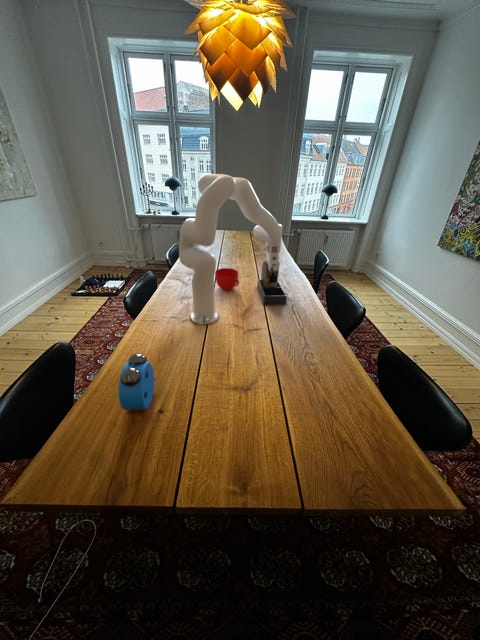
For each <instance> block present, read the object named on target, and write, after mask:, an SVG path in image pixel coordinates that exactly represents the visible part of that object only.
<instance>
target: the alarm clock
mask: <svg viewBox="0 0 480 640" xmlns="http://www.w3.org/2000/svg"><path fill="white" fill-rule="evenodd" d="M119 375H120V376H119V381H118V401H119V404H120V406H121V408H122V409H123V410H124V411H130V413H131V412H133V411H140V410H142V411H143V410H148V409H149V407H150V406H151V404H152V401H153V397H154V390H155V372H154V367H153V364H152V363H151V362H150V361H148V357H147V356H146V355H145V354H143V353H139V352H137V353H134V354H131V355H130V356H129V358H128V361H127V363H125V364H124V366H123V367H122V370H121V372H120V374H119Z"/></svg>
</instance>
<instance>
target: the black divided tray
mask: <svg viewBox="0 0 480 640" xmlns="http://www.w3.org/2000/svg"><path fill="white" fill-rule="evenodd" d="M256 288H257V290H258V293H259V296H260V299H261V302H262V304H263V306H285V305H287V300H288V295H287V294H286V292H285V290H284V289H283V286H282V285H281V283H280V281H279V280H278V284H277V287H262V286H261V278H260V279H259V278H257V285H256Z"/></svg>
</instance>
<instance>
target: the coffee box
mask: <svg viewBox="0 0 480 640" xmlns="http://www.w3.org/2000/svg"><path fill="white" fill-rule="evenodd" d="M280 263H281V262H280V261H278V271H276V272H275V273H276V275H275V282H274V283H269V275H270V271H269V270H268V264H267V261H266V260H263V261H262V263H261V274H260V275H261V276H260V277H261V278H260V279H261V286H262V287H277V284H278V281H279V275H280V274H279V273H280ZM271 270H273V268H272V269H271ZM271 273H272V272H271Z"/></svg>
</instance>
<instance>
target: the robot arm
mask: <svg viewBox="0 0 480 640" xmlns="http://www.w3.org/2000/svg"><path fill="white" fill-rule="evenodd" d="M197 189H198V191H199V193H200V196H199V198H198V199H197V203H196V207H195V208H196V209H195V216H194V218H193V217H189V218H187V219H186V220H184V221H183V223H182V224H181V227H180V231H179V246H178V258H179V261H180V263H181V265H183V266H184V267H185V268H188V269H190V270H192V271H193V275H192V278H191V291H192V307H193V312H192V313H191V314H190V320H191V321H192V322H193V323H195V324H198V325H200V326H201V325H209V324H213V323H215V322H216V321H218V319H219V314H218V313H217V311H216V310H215V271H216V266H217V259H216V256H215V255H214V254H213V252H210V251H209V250H207V249H204V248H201V247H205V248H206V247H210V246H212V245H214V243H215V240H216V236H217V226H218V217H219V212H220V209H221V207H222V206H223V204H224V203H225V202H226V201H227V200H233V201H235V202H236V204H237V205H238V207H239V208H240V209H239V210H241V212H242V214H243V216H244V217H245V218H246V219H247V220H248V221H250V222H252V223H253V224H256V225H255V227H254V228H253V231H252V235H253V238H254V239H256V240H258V241H262V242H266V243H265V252H266V260H265V261H267V264H268V270H269V271H270V275H269V283H274V282H275V275H276V273H275V272H276V271H278V262H279V258H280V256H279V253H280V252H281V245H282V236H283V229H284V228H283V225H282V224H280V223H278V220H277V219H276V218H275V217H274V216H273V215H272V213H270V212H269V210H267V209H266V208H265V207H264V206H263V205H262V204H261V202H260V200H259V197H258V196H257V194H256V192H255V190H254V188H253V186H252V184H251V182H250V181H249V180H248V179H247V178H244V177H235V176H231V175H229V174H225V173H224V174H223V173H204V174H203V175H201V176H200V177H199V179H198V182H197ZM200 246H201V247H200ZM272 268H273V270H271V269H272ZM271 272H272V273H271Z"/></svg>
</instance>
